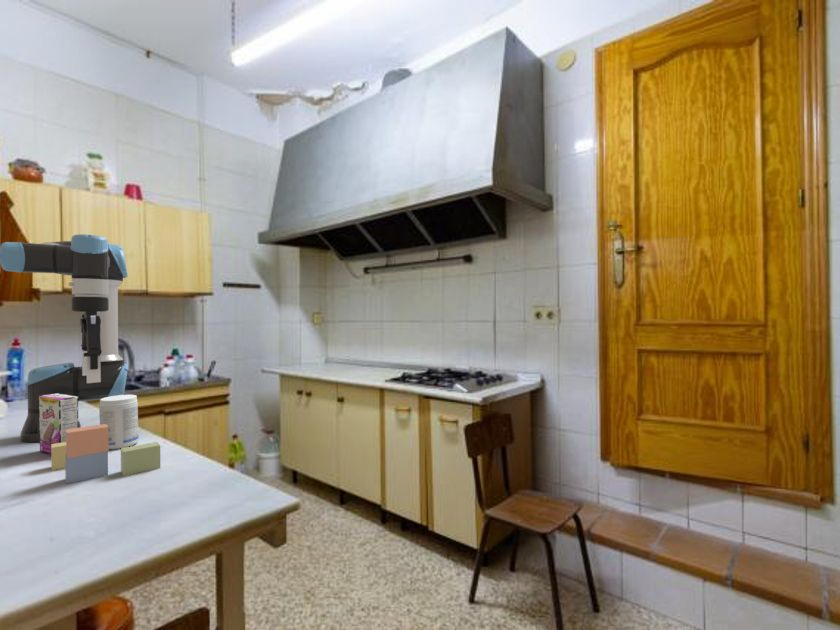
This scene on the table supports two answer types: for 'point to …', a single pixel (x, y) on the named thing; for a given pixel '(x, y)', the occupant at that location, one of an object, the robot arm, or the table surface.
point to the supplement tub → (120, 420)
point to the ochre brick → (58, 455)
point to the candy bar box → (56, 418)
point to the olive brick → (140, 458)
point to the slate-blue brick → (86, 467)
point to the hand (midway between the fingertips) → (91, 378)
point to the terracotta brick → (86, 440)
